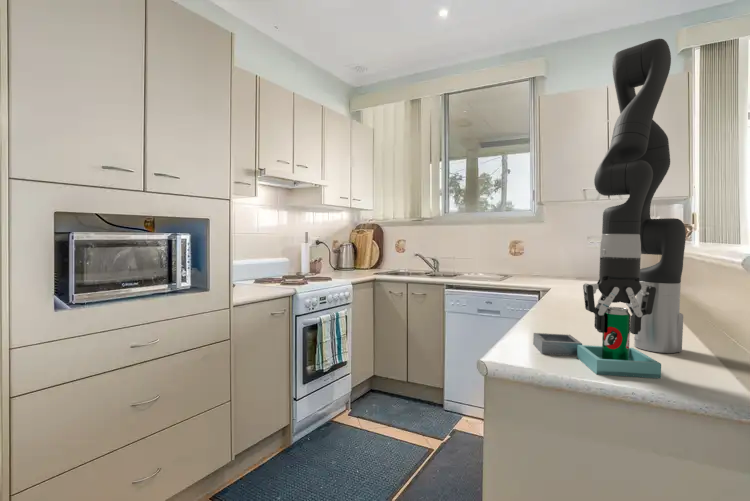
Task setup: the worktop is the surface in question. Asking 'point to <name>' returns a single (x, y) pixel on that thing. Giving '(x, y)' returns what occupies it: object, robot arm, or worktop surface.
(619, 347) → the soda can
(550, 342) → the grey square bin
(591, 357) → the tray
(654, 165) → the robot arm
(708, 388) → the worktop surface
